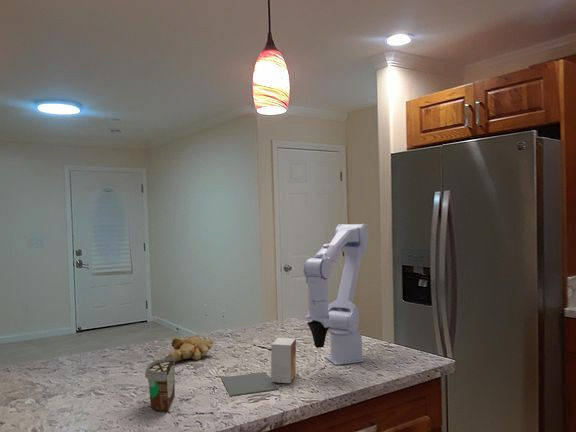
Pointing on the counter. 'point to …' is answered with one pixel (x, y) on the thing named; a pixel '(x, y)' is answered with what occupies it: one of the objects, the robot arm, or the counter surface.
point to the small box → (283, 360)
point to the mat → (248, 384)
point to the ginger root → (189, 348)
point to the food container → (161, 384)
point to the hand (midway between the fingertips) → (319, 347)
